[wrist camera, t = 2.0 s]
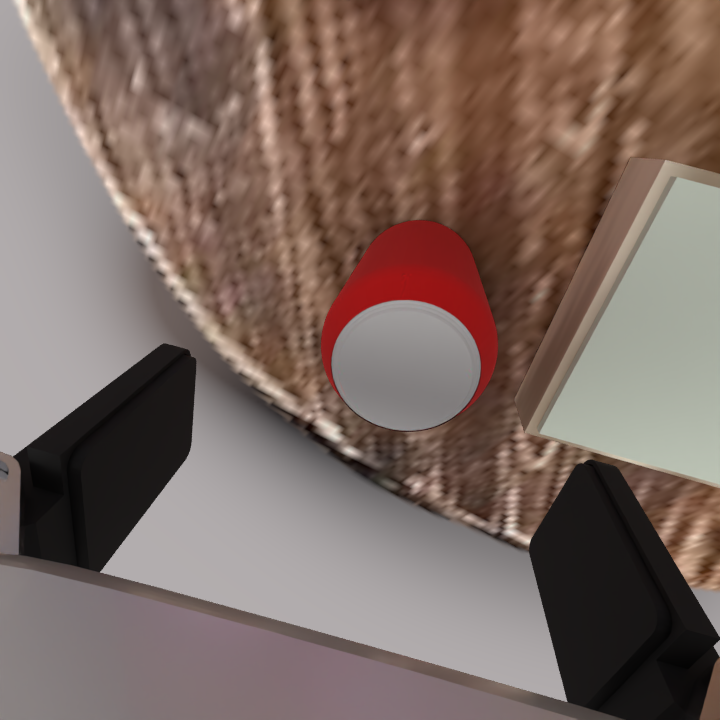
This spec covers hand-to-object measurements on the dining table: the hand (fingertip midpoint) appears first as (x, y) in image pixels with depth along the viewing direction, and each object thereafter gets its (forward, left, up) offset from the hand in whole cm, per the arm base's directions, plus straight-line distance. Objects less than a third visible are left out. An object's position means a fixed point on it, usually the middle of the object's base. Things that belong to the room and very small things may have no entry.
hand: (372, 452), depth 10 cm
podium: (-17, -1, -16) cm, 24 cm away
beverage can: (0, 0, -16) cm, 16 cm away
